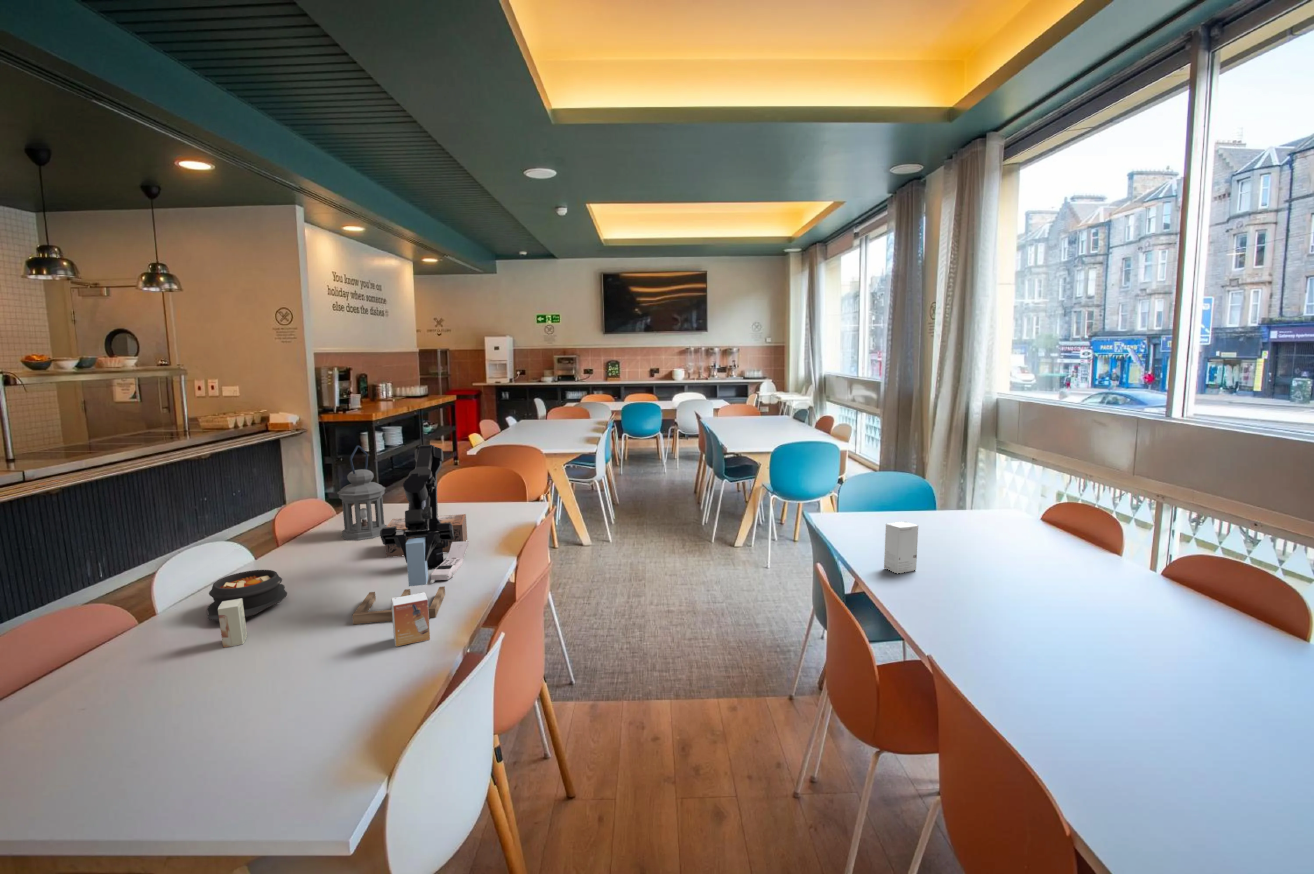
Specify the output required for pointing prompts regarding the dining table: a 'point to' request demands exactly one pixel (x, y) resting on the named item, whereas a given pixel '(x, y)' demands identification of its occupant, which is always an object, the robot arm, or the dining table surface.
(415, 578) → the pale blue tall block
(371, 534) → the lantern
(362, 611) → the comb rack
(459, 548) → the mobile phone
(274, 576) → the casserole
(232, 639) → the skincare box
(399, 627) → the small box
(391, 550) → the tissue box cover
